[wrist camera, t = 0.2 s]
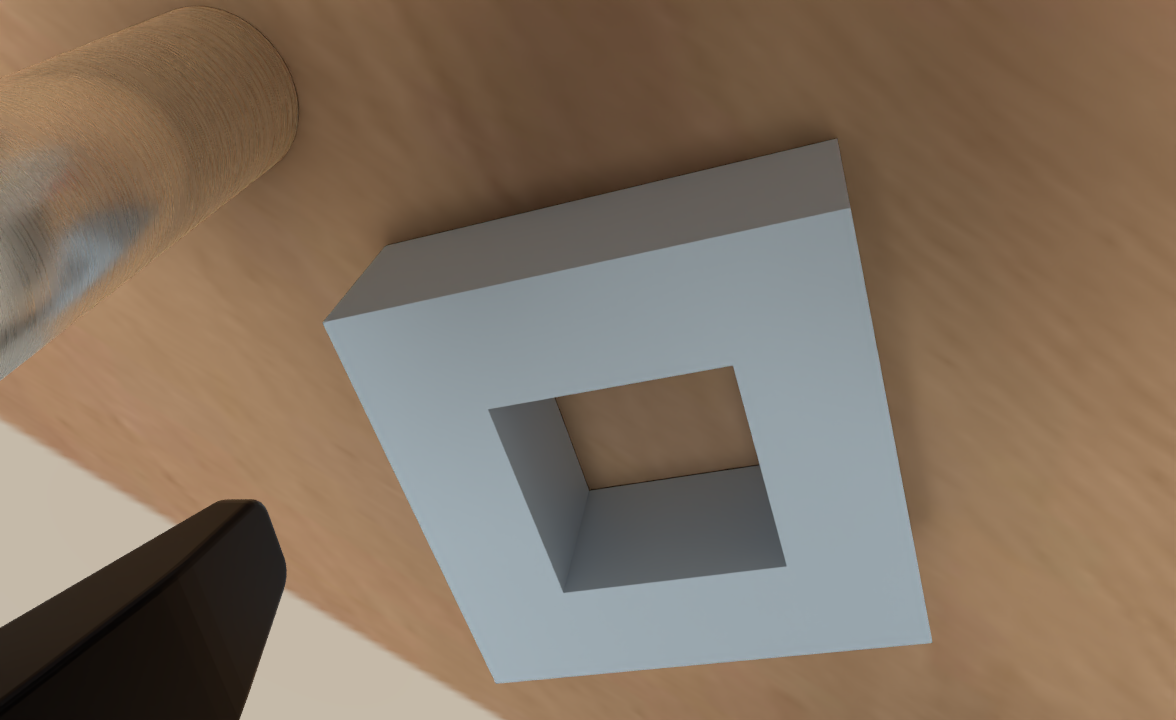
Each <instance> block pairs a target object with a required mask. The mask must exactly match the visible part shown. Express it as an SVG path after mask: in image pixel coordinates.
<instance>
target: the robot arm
mask: <svg viewBox="0 0 1176 720" xmlns="http://www.w3.org/2000/svg"><path fill="white" fill-rule="evenodd" d="M285 582H286V563H285V559H284V556H283V553H282V550H281V548H280V545H279V542H278V539H277V536H276V534H275V531H274V528H273V525H272V523H271V520H270V517H269V514H268V512H267V510H266V508H265V506H264V505H263V504H262V503H261V502H259V501H257V500H253V499H232V500H221V501H218V502H216V503H214V504H212V505H210V506H209V507H207V508H205V509H203V510H202V511H200V512H198V513H197V514H195V515H193V516H191V517H190V518H188V519H186V520H185V521H183V522H181V523H179V524H178V525H176V526H174V527H173V528H171V529H169V530H168V531H166V532H164V533H162V534H161V535H159V536H157V537H155V538H154V539H152V540H150V541H148V542H147V543H145V544H143V545H142V546H140V547H138V548H136V549H135V550H133V551H131V552H130V553H128V554H126V555H124V556H123V557H121V558H119V559H118V560H116V561H114V562H113V563H111V564H109V565H108V566H105V567H104V568H102V569H101V570H99V571H97V572H96V573H93V574H92V575H90V576H89V577H87V578H85V579H83V580H82V581H80V582H78V583H76V584H75V585H73V586H71V587H70V588H68V589H66V590H65V591H63V592H61V593H59V594H58V595H56V596H54V597H53V598H51V599H49V600H47V601H45V602H44V603H42V604H40V605H39V606H37V607H35V608H33V609H32V610H30V611H28V612H26V613H25V614H23V615H22V616H20V617H18V618H17V619H14V620H13V621H11V622H9V623H8V624H6V625H4V626H2V627H1V628H0V720H239V719H240V716H241V714H242V711H243V708H244V705H245V703H246V700H247V697H248V694H249V692H250V689H251V686H252V682H253V680H254V677H255V673H256V671H257V668H258V665H259V662H260V659H261V656H262V653H263V650H264V647H265V644H266V641H267V638H268V635H269V632H270V629H271V626H272V623H273V620H274V617H275V614H276V611H277V608H278V605H279V602H280V599H281V596H282V593H283V590H284V587H285Z"/></svg>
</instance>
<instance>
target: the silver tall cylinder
mask: <svg viewBox="0 0 1176 720" xmlns="http://www.w3.org/2000/svg"><path fill="white" fill-rule="evenodd" d="M297 125H298V100H297V94H296V90H295V86H294V83H293V80H292V78H291V75H290V73H289V71H288V69H287V67H286V65H285V63H284V61H283V59H282V58H281V56H280V55H279V53H278V52H277V50H276V49H275V48H274V47H273V46H272V44H271V43H270V42H269V41H268V40H267V39H266V38H265V37H264V36H263V35H262V34H261V33H260V32H259V31H258V30H256V29H255V28H254V27H253V26H251V25H250V24H249V23H247V22H245V21H244V20H242V19H241V18H239V17H237V16H235V15H233V14H231V13H228V12H225V11H222V10H219V9H216V8H211V7H204V6H190V7H183V8H179V9H175V10H172V11H170V12H167V13H164V14H162V15H159V16H157V17H154V18H152V19H149V20H147V21H144V22H142V23H139V24H136V25H134V26H131V27H129V28H126V29H124V30H121V31H119V32H116V33H113V34H111V35H108V36H106V37H103V38H101V39H98V40H96V41H93V42H90V43H88V44H85V45H83V46H80V47H78V48H75V49H73V50H70V51H68V52H65V53H62V54H60V55H57V56H55V57H52V58H50V59H47V60H45V61H42V62H39V63H37V64H34V65H32V66H29V67H27V68H24V69H22V70H19V71H16V72H14V73H11V74H9V75H6V76H4V77H1V78H0V380H2V379H3V378H4V377H5V376H7V375H8V374H9V373H11V372H12V371H13V370H14V369H16V368H17V367H18V366H19V365H21V364H22V363H23V362H25V361H26V360H27V359H28V358H30V357H31V356H32V355H33V354H35V353H36V352H37V351H39V350H40V349H41V348H42V347H44V346H45V345H46V344H47V343H49V342H50V341H51V340H53V339H54V338H55V337H56V336H58V335H59V334H60V333H61V332H63V331H64V330H65V329H67V328H68V327H69V326H70V325H72V324H73V323H74V322H75V321H77V320H78V319H79V318H81V317H82V316H83V315H84V314H86V313H87V312H88V311H89V310H91V309H92V308H93V307H95V306H96V305H97V304H98V303H100V302H101V301H102V300H103V299H105V298H106V297H107V296H109V295H110V294H111V293H112V292H114V291H115V290H116V289H117V288H119V287H120V286H121V285H123V284H124V283H125V282H126V281H128V280H129V279H130V278H131V277H133V276H134V275H135V274H137V273H138V272H139V271H140V270H142V269H143V268H144V267H145V266H147V265H148V264H149V263H151V262H152V261H153V260H154V259H156V258H157V257H158V256H159V255H161V254H162V253H163V252H165V251H166V250H167V249H168V248H170V247H171V246H172V245H173V244H175V243H176V242H177V241H179V240H180V239H181V238H182V237H184V236H185V235H186V234H187V233H189V232H190V231H191V230H193V229H194V228H195V227H196V226H198V225H199V224H200V223H201V222H203V221H204V220H205V219H207V218H208V217H209V216H210V215H212V214H213V213H214V212H215V211H217V210H218V209H219V208H221V207H222V206H223V205H224V204H226V203H227V202H228V201H229V200H231V199H232V198H233V197H235V196H236V195H237V194H238V193H240V192H241V191H242V190H243V189H245V188H246V187H247V186H248V185H250V184H251V183H252V182H254V181H255V180H256V179H257V178H259V177H260V176H261V175H262V174H264V173H265V172H266V171H268V170H269V169H270V168H271V167H273V166H274V165H275V164H276V163H278V162H279V161H280V160H281V159H282V158H283V157H284V155H285V154H286V153H287V151H288V150H289V148H290V146H291V144H292V142H293V140H294V137H295V134H296V130H297Z"/></svg>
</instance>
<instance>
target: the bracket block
mask: <svg viewBox="0 0 1176 720" xmlns="http://www.w3.org/2000/svg"><path fill="white" fill-rule="evenodd" d="M323 325H324V327H325V329H326V331H327V333H328V335H329V337H330V339H331V341H332V343H333V345H334V348H335V350H336V352H337V354H338V356H339V358H340V360H341V362H342V364H343V366H344V368H345V370H346V372H347V375H348V377H349V379H350V381H351V383H352V385H353V387H354V389H355V391H356V393H357V395H358V397H359V400H360V402H361V404H362V406H363V408H364V410H365V412H366V414H367V416H368V418H369V420H370V422H371V425H372V427H373V429H374V431H375V433H376V435H377V437H378V439H379V441H380V443H381V445H382V447H383V449H384V452H385V454H386V456H387V458H388V460H389V462H390V464H391V466H392V468H393V470H394V472H395V474H396V477H397V479H398V481H399V483H400V485H401V487H402V489H403V491H404V493H405V495H406V497H407V499H408V502H409V504H410V506H411V508H412V510H413V512H414V514H415V516H416V518H417V520H418V522H419V524H420V526H421V529H422V531H423V533H424V535H425V537H426V539H427V541H428V543H429V545H430V547H431V549H432V551H433V554H434V556H435V558H436V560H437V562H438V564H439V566H440V568H441V570H442V572H443V574H444V576H445V579H446V581H447V583H448V585H449V587H450V589H451V591H452V593H453V595H454V597H455V599H456V601H457V603H458V606H459V608H460V610H461V612H462V614H463V616H464V618H465V620H466V622H467V624H468V626H469V628H470V631H471V633H472V635H473V637H474V639H475V641H476V643H477V645H478V647H479V649H480V651H481V653H482V656H483V658H484V660H485V662H486V664H487V666H488V668H489V670H490V672H491V674H492V676H493V678H494V680H495V683H496V684H497V683H508V682H519V681H530V680H540V679H551V678H562V677H572V676H583V675H594V674H604V673H615V672H626V671H637V670H647V669H658V668H669V667H679V666H690V665H701V664H712V663H722V662H733V661H744V660H754V659H765V658H776V657H786V656H797V655H808V654H819V653H829V652H840V651H851V650H861V649H872V648H883V647H894V646H904V645H915V644H926V643H932V637H931V632H930V627H929V621H928V616H927V611H926V606H925V600H924V595H923V590H922V584H921V579H920V574H919V568H918V563H917V558H916V553H915V547H914V542H913V537H912V531H911V526H910V521H909V515H908V510H907V505H906V499H905V494H904V489H903V484H902V478H901V473H900V468H899V462H898V457H897V452H896V446H895V441H894V436H893V430H892V425H891V420H890V415H889V409H888V404H887V399H886V393H885V388H884V383H883V377H882V372H881V367H880V361H879V356H878V351H877V346H876V340H875V335H874V330H873V324H872V319H871V314H870V308H869V303H868V298H867V293H866V287H865V282H864V277H863V271H862V266H861V261H860V255H859V250H858V245H857V239H856V234H855V229H854V224H853V218H852V213H851V208H850V202H849V197H848V192H847V187H846V181H845V176H844V171H843V166H842V160H841V155H840V150H839V145H838V139H833V140H829V141H824V142H820V143H816V144H812V145H808V146H803V147H799V148H795V149H791V150H787V151H782V152H778V153H774V154H770V155H766V156H761V157H757V158H753V159H749V160H744V161H740V162H736V163H732V164H728V165H723V166H719V167H715V168H711V169H707V170H702V171H698V172H694V173H690V174H686V175H681V176H677V177H673V178H669V179H665V180H660V181H656V182H652V183H648V184H644V185H639V186H635V187H631V188H627V189H623V190H618V191H614V192H610V193H606V194H602V195H597V196H593V197H589V198H585V199H581V200H576V201H572V202H568V203H564V204H560V205H555V206H551V207H547V208H543V209H539V210H534V211H530V212H526V213H522V214H518V215H513V216H509V217H505V218H501V219H497V220H492V221H488V222H484V223H480V224H475V225H471V226H467V227H463V228H459V229H454V230H450V231H446V232H442V233H438V234H433V235H429V236H425V237H421V238H417V239H412V240H408V241H404V242H400V243H396V244H391V245H387V246H385V247H384V248H383V249H382V250H381V252H380V253H379V254H378V255H377V257H376V258H375V259H374V260H373V261H372V263H371V264H370V265H369V266H368V268H367V269H366V270H365V271H364V272H363V274H362V275H361V276H360V277H359V279H358V280H357V281H356V282H355V283H354V285H353V286H352V287H351V288H350V290H349V291H348V292H347V293H346V294H345V296H344V297H343V298H342V299H341V301H340V302H339V303H338V304H337V305H336V307H335V308H334V309H333V310H332V312H331V313H330V314H329V315H328V316H327V318H326V319H325V320H324V321H323ZM727 366H733V367H734V371H735V375H736V379H737V382H738V386H739V390H740V393H741V397H742V401H743V405H744V408H745V412H746V416H747V420H748V423H749V427H750V431H751V434H752V438H753V442H754V446H755V449H756V453H757V457H758V460H759V464H760V465H758V466H752V467H745V468H738V469H731V470H725V471H718V472H711V473H705V474H698V475H691V476H685V477H678V478H671V479H664V480H658V481H651V482H644V483H638V484H631V485H624V486H618V487H611V488H604V489H597V490H591V491H589V489H588V486H587V483H586V481H585V478H584V475H583V473H582V470H581V467H580V465H579V462H578V459H577V457H576V454H575V451H574V449H573V446H572V443H571V440H570V438H569V435H568V432H567V430H566V427H565V424H564V422H563V419H562V416H561V414H560V411H559V408H558V406H557V403H556V400H555V397H560V396H565V395H571V394H577V393H582V392H588V391H593V390H599V389H605V388H610V387H616V386H621V385H627V384H632V383H638V382H644V381H649V380H655V379H660V378H666V377H671V376H677V375H683V374H688V373H694V372H699V371H705V370H711V369H716V368H722V367H727Z"/></svg>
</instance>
